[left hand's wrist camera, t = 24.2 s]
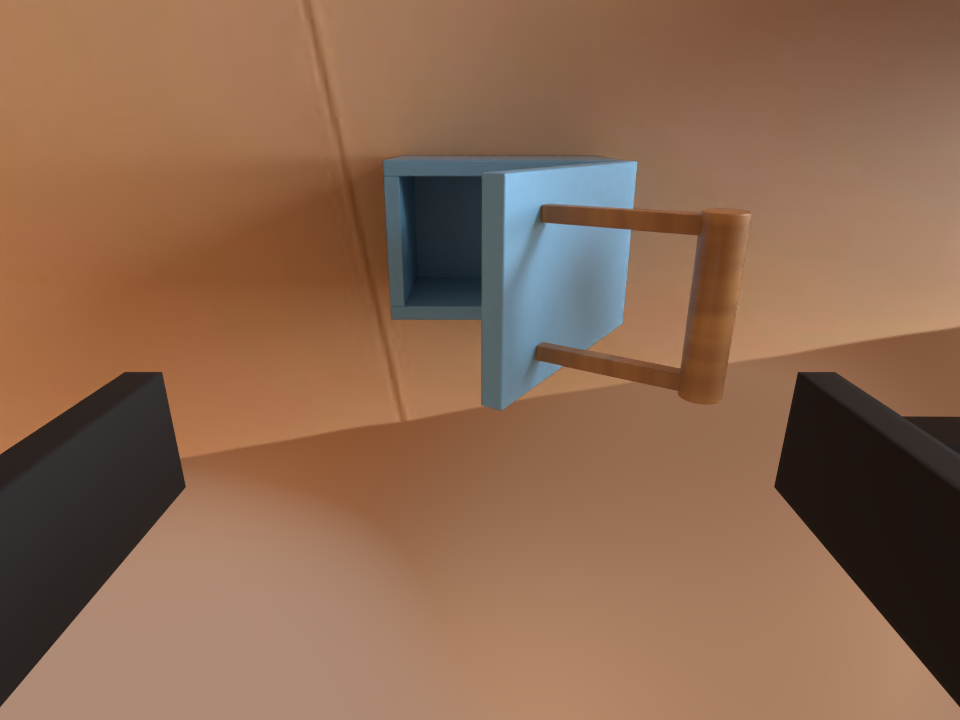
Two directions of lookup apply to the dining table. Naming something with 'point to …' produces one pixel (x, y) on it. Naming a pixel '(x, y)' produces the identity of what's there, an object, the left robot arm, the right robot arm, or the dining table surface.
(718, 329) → the lid
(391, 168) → the chest
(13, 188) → the dining table surface
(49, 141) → the dining table surface
